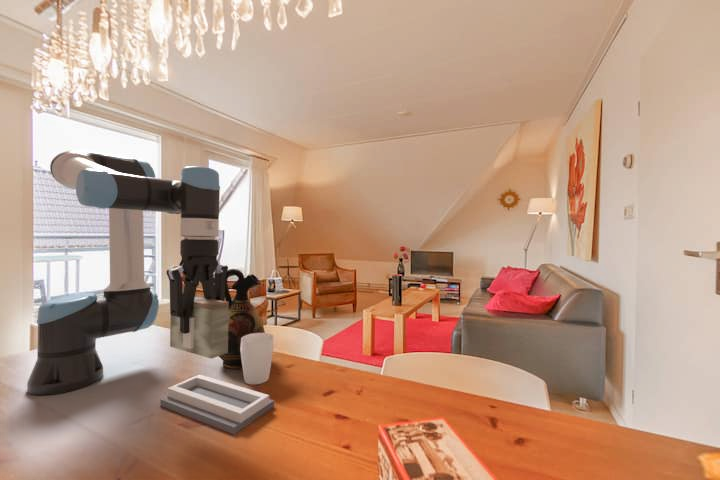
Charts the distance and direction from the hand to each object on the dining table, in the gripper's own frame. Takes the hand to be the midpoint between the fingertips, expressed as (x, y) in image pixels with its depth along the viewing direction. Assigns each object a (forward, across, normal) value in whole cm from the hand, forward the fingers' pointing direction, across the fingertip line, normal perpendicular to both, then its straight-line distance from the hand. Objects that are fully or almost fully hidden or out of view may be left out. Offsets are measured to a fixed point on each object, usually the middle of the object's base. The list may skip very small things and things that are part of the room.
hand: (198, 343), depth 70 cm
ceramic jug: (+17, +26, +17) cm, 35 cm away
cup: (+17, +20, +3) cm, 27 cm away
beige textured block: (+1, 0, 0) cm, 1 cm away
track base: (+17, +6, +1) cm, 18 cm away
